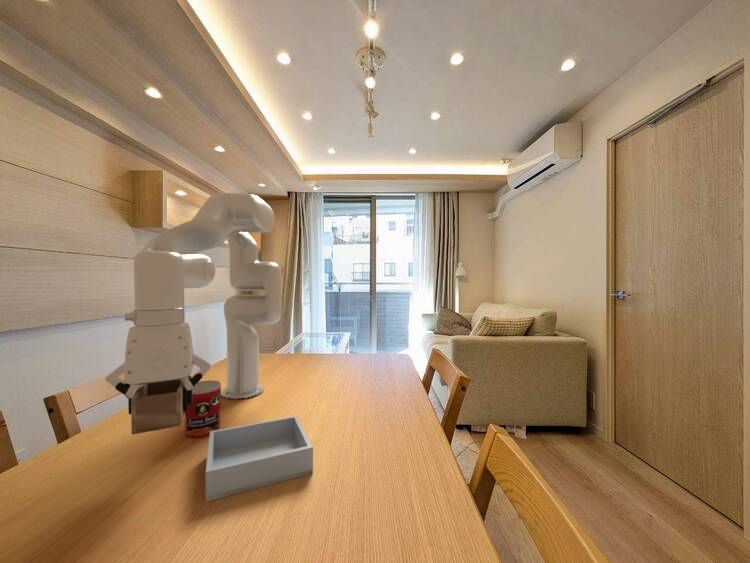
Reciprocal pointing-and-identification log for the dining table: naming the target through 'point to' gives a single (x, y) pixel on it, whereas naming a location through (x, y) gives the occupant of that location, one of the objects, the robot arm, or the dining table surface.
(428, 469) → the dining table surface
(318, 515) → the dining table surface
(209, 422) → the canned food
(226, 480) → the large crate
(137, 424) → the small crate
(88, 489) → the dining table surface
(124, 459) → the dining table surface
